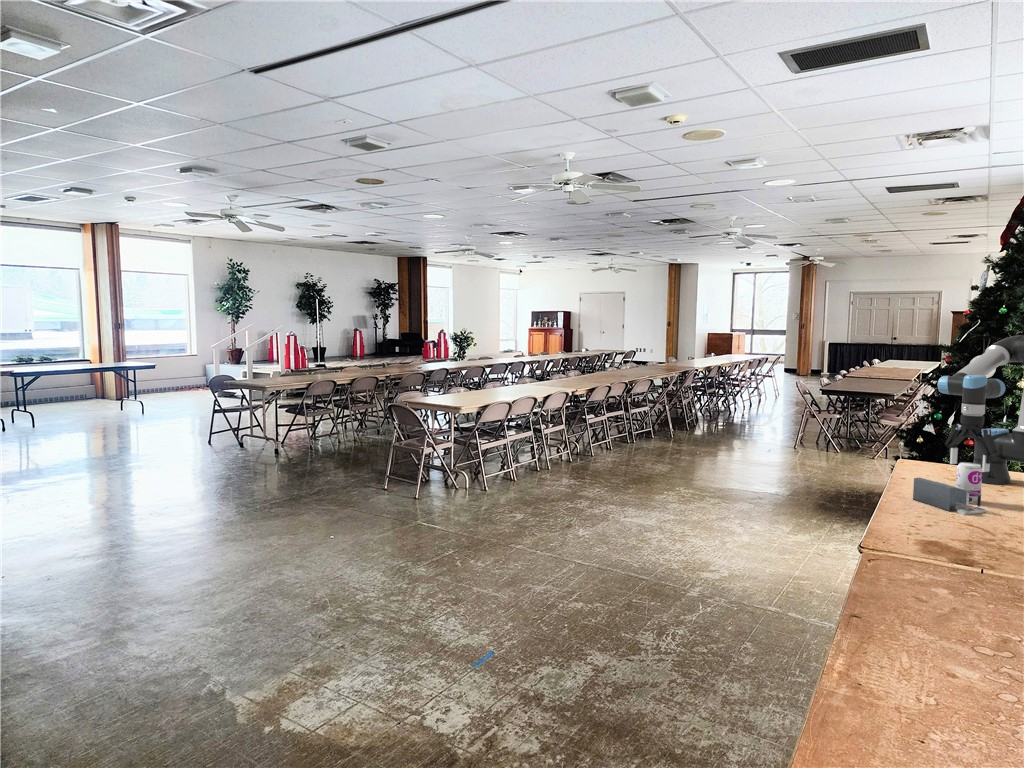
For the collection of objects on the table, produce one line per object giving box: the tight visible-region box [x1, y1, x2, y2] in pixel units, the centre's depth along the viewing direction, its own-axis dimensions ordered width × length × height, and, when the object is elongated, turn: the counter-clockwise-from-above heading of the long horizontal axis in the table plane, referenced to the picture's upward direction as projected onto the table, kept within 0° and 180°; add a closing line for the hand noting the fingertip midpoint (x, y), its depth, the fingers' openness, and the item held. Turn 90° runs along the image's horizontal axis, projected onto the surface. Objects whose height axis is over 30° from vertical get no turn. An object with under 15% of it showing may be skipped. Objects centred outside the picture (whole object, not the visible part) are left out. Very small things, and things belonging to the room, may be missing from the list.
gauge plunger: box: [934, 480, 982, 508], centre depth 250 cm, size 1×19×6 cm, turn 15°
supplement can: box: [955, 461, 983, 505], centre depth 254 cm, size 8×8×15 cm
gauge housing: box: [912, 477, 986, 516], centre depth 249 cm, size 12×21×9 cm, turn 15°
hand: (969, 467), depth 253 cm, fingers open, 13 cm apart
